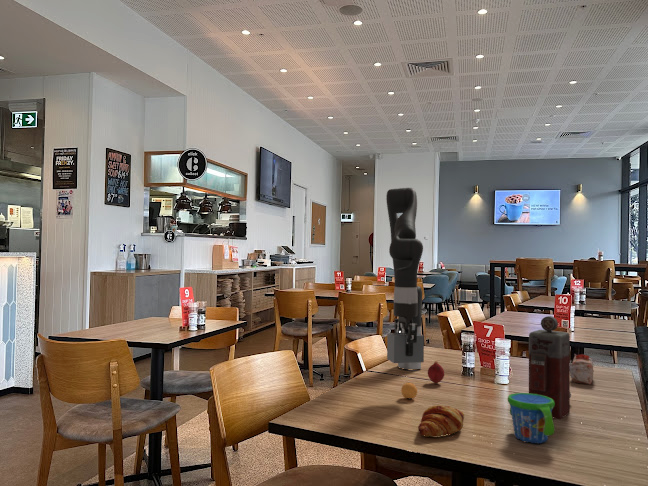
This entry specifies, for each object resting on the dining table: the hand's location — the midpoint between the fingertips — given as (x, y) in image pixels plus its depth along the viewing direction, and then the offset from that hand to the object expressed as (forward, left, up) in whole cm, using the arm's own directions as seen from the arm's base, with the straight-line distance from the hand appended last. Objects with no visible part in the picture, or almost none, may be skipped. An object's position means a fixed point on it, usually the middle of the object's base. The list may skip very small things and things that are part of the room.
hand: (405, 353), depth 159 cm
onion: (-16, +18, -14) cm, 28 cm away
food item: (-12, +75, -15) cm, 77 cm away
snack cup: (+39, +18, -14) cm, 45 cm away
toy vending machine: (+21, +36, -14) cm, 44 cm away
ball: (+1, +1, -12) cm, 12 cm away
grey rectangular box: (0, 0, -2) cm, 2 cm away
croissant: (+29, -1, -15) cm, 33 cm away
